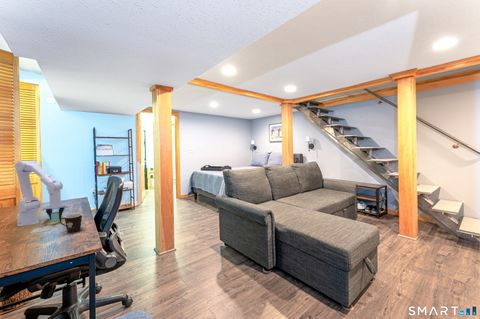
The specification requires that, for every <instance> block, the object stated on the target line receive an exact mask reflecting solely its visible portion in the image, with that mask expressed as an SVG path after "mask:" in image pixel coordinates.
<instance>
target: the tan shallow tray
mask: <svg viewBox="0 0 480 319" xmlns="http://www.w3.org/2000/svg"><path fill="white" fill-rule="evenodd" d="M65 216H66V215H65ZM65 216H61V218H65ZM61 222H62V223H63V224H64V225H66V222H65V219H62V220H61ZM64 225H62V224H61V223H60V221H59V222H52V223H51V220H50V217H48V218H45V219H44V220H42V222H41V228H43V227H50V226H53V227H57V226H64Z"/></svg>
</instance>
